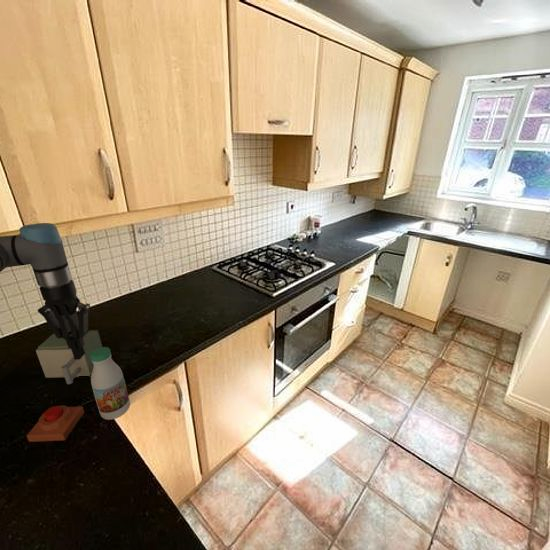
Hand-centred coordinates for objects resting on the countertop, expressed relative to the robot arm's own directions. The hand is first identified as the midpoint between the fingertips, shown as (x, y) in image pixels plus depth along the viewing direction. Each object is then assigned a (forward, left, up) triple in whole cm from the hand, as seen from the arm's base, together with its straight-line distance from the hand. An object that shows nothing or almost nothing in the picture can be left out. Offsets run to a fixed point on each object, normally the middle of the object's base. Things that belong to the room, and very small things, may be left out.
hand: (79, 356), depth 88 cm
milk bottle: (+11, -8, -13) cm, 19 cm away
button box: (-2, -13, -13) cm, 18 cm away
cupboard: (-10, +11, -13) cm, 20 cm away
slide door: (-10, +3, -12) cm, 16 cm away
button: (-2, -13, -9) cm, 16 cm away
